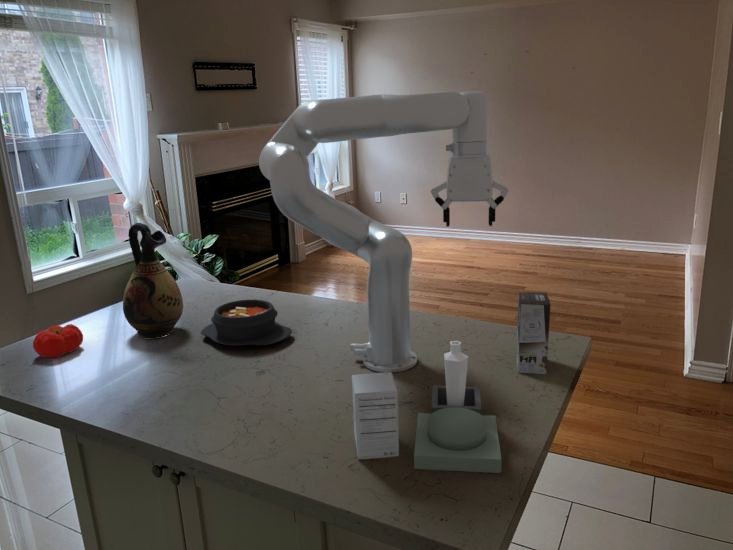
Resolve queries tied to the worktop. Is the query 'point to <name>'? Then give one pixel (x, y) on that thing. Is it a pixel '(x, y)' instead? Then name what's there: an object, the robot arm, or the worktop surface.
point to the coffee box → (532, 332)
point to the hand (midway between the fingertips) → (469, 225)
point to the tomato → (57, 341)
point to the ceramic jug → (150, 288)
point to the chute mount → (457, 436)
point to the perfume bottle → (455, 374)
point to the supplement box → (375, 415)
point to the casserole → (246, 324)
